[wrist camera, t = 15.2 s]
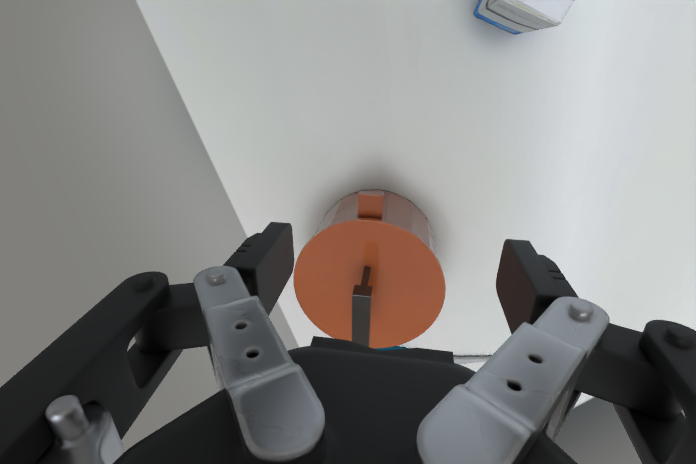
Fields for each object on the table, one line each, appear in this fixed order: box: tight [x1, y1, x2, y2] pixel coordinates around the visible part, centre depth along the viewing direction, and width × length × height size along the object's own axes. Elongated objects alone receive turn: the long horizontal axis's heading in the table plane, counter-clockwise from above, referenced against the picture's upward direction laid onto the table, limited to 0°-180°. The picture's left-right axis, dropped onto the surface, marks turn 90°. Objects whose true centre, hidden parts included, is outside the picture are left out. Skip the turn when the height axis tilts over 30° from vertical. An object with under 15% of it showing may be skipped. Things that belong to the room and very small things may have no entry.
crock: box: [316, 190, 436, 349], centre depth 44 cm, size 15×20×10 cm
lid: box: [294, 218, 445, 348], centre depth 37 cm, size 16×16×6 cm
